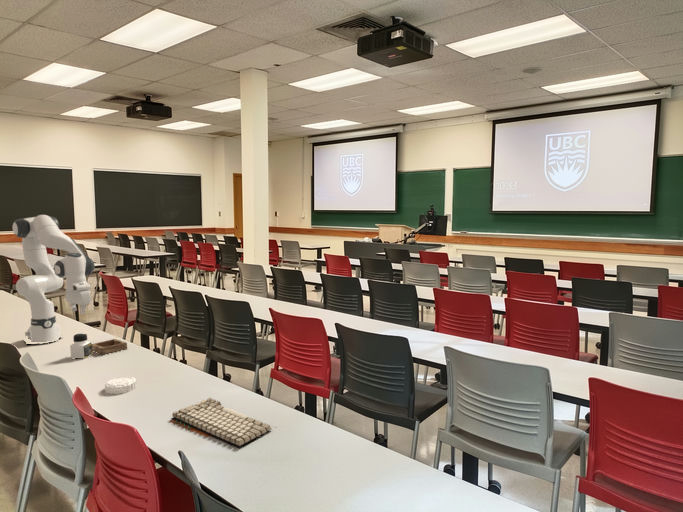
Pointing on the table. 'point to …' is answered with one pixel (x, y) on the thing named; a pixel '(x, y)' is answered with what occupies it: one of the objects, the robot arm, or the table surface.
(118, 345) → the brown wooden tray
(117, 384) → the mooncake
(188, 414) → the mechanical keyboard
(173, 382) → the table surface
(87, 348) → the medicine bottle
